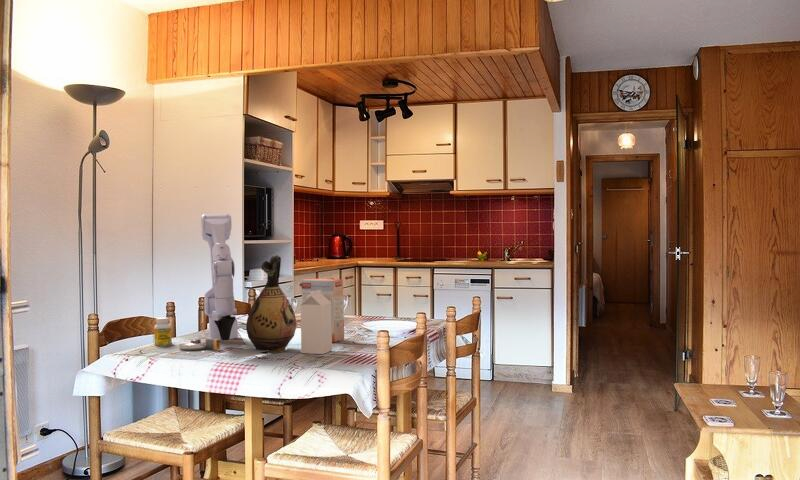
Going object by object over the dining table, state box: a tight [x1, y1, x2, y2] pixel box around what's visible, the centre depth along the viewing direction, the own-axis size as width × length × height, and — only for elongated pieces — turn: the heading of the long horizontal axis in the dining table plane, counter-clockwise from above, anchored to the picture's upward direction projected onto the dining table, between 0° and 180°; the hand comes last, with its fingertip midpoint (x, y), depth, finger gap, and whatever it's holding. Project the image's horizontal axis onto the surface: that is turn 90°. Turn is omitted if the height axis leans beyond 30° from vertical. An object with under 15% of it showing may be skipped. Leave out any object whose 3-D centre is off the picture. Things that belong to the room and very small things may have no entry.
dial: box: [178, 338, 221, 351], centre depth 212 cm, size 15×10×3 cm
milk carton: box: [300, 290, 333, 355], centre depth 207 cm, size 7×7×19 cm
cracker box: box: [301, 278, 345, 343], centre depth 229 cm, size 14×6×21 cm, turn 58°
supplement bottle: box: [153, 317, 173, 347], centre depth 221 cm, size 5×5×10 cm
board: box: [150, 342, 241, 357], centre depth 213 cm, size 20×20×1 cm
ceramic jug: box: [245, 255, 297, 354], centre depth 211 cm, size 17×15×30 cm
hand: (225, 340), depth 214 cm, fingers closed
